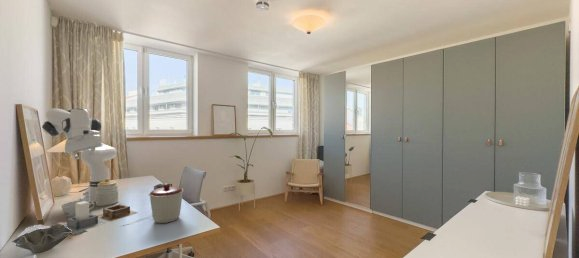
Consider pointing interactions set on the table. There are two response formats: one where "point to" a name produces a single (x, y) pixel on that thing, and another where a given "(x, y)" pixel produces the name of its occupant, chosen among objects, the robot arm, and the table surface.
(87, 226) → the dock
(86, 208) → the plug
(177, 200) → the canister
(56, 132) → the robot arm
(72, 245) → the table surface
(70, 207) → the teacup
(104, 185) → the jar
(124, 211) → the brown open box
